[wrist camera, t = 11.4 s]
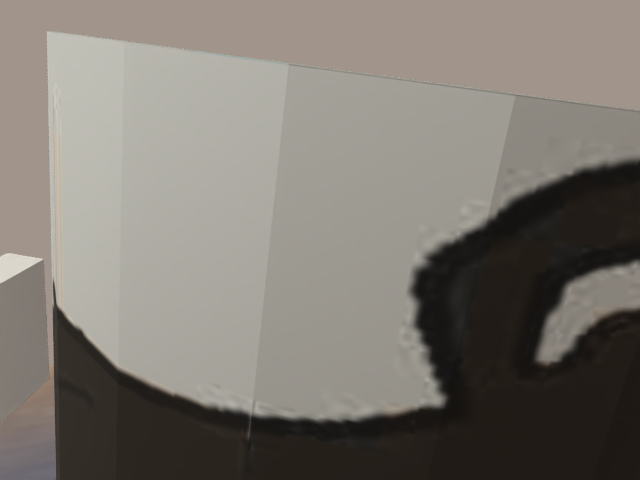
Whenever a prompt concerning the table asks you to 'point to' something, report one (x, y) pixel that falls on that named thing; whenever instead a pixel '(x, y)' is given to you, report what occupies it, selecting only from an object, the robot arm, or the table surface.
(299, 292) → the white printed cylinder
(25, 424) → the table surface
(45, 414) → the table surface
